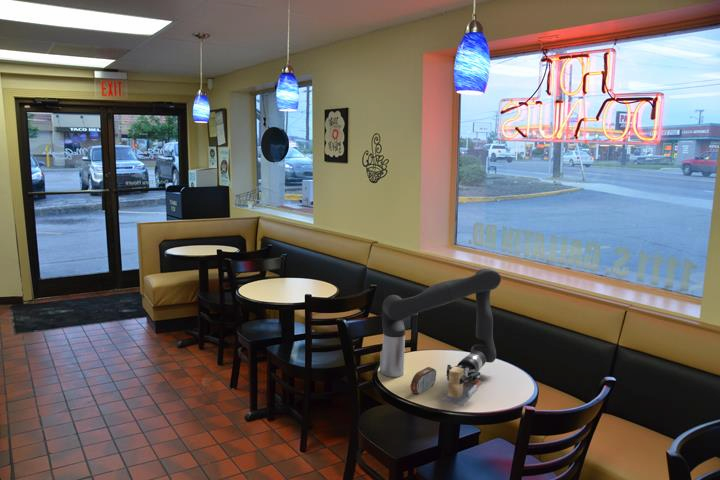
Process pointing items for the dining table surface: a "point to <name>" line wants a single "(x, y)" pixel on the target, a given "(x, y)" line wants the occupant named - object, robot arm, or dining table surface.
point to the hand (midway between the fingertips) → (454, 380)
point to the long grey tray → (464, 394)
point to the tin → (423, 380)
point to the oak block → (455, 382)
